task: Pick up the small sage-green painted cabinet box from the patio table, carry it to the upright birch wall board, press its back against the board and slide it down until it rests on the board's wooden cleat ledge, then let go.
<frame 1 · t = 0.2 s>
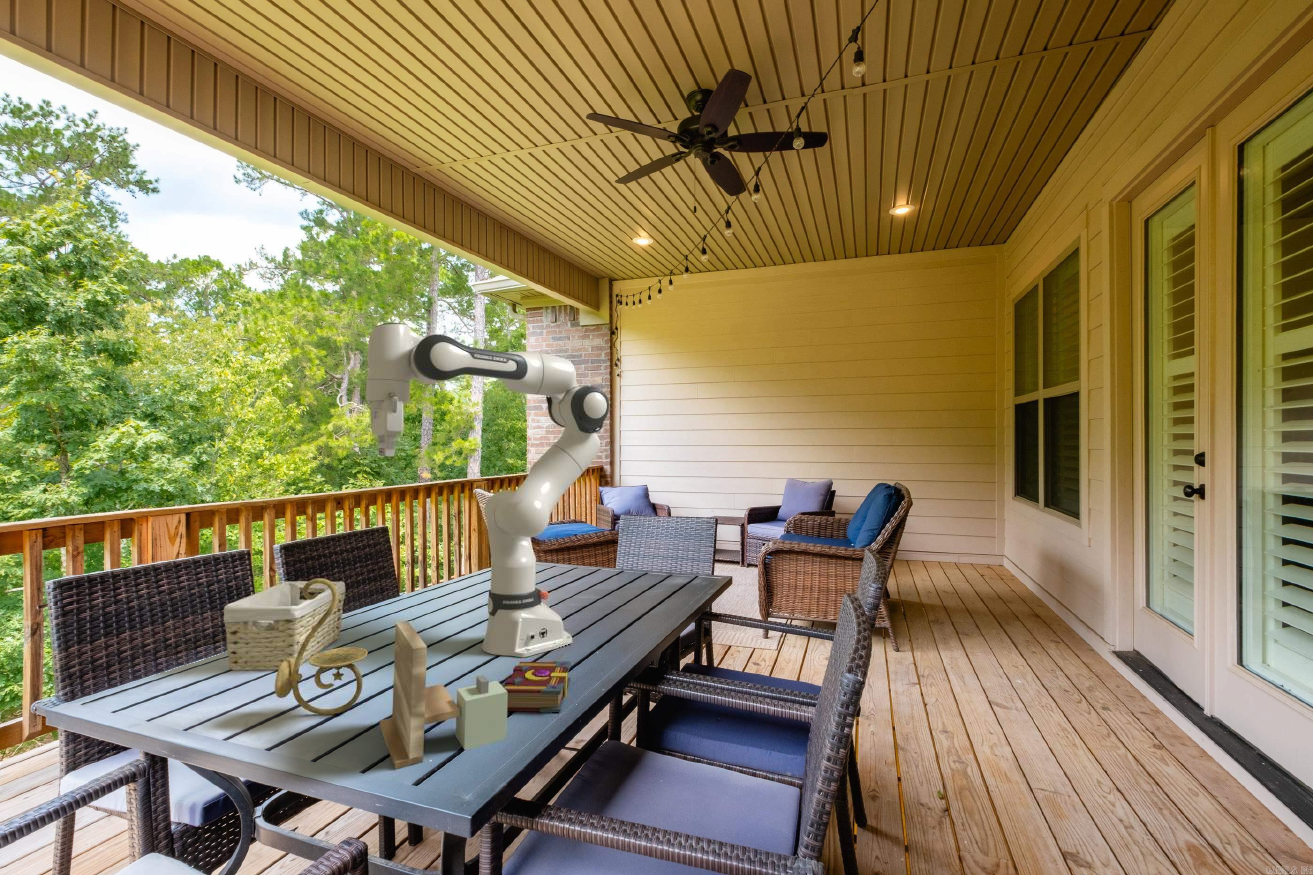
hand: (385, 456, 125), 48 cm above the table, fingers open, 8 cm apart
wall sconce: (323, 715, 103), on the table
wall board: (406, 741, 94), on the table
storage basket: (287, 655, 133), on the table
decorative book: (538, 696, 114), on the table
sage cabinet: (480, 737, 96), on the table
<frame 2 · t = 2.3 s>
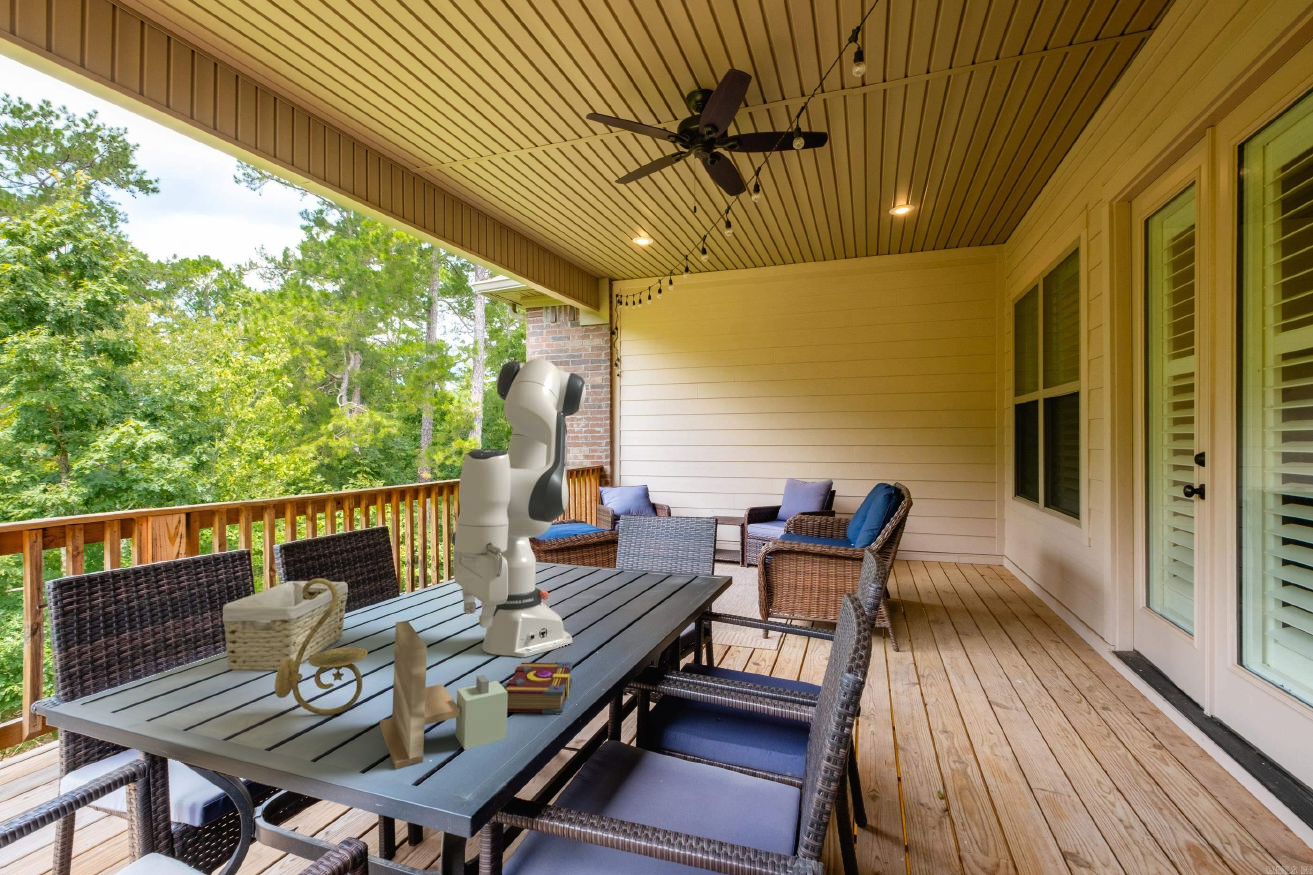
hand: (477, 619, 98), 20 cm above the table, fingers open, 8 cm apart
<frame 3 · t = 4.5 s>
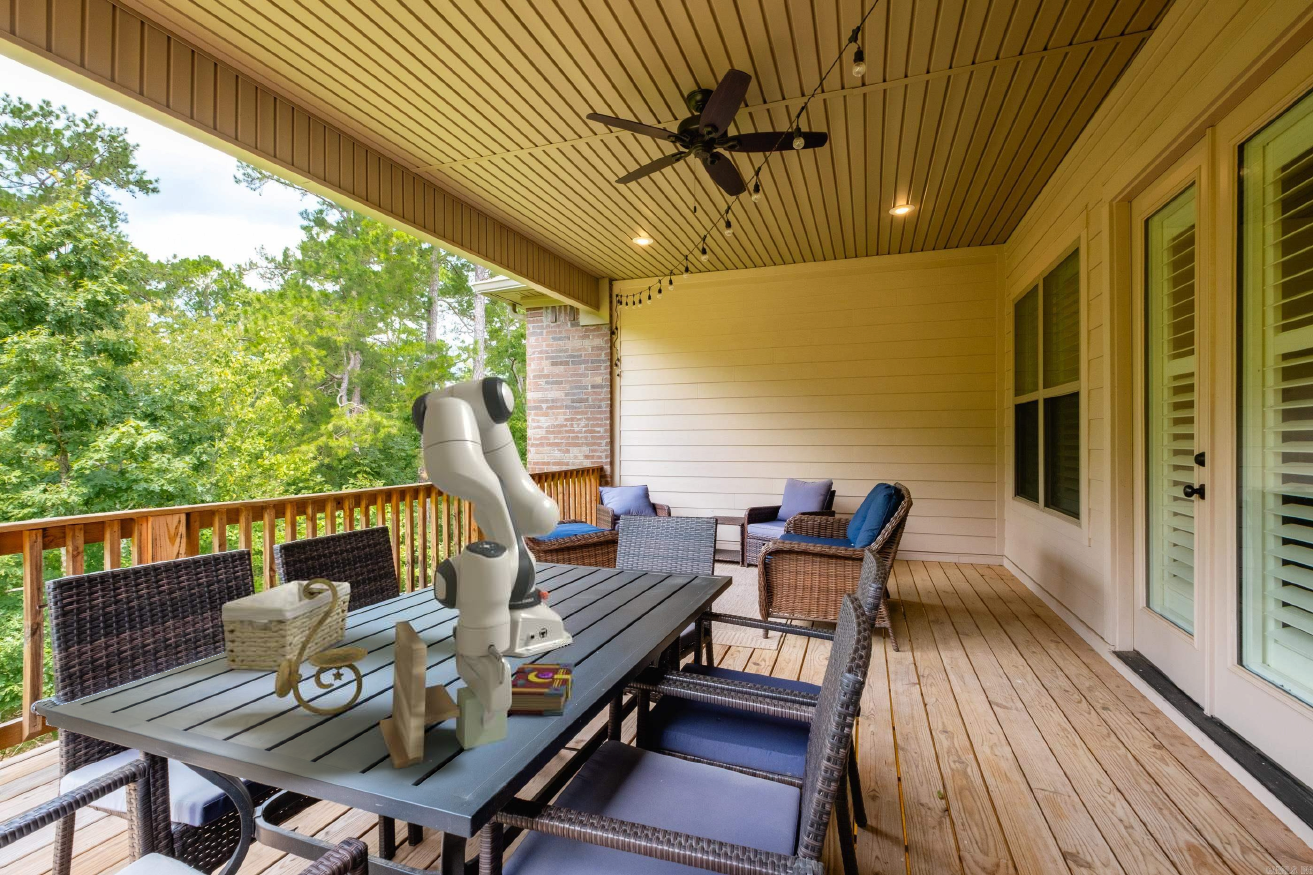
hand: (481, 718, 96), 3 cm above the table, fingers closed on sage cabinet, 5 cm apart
sage cabinet: (480, 736, 96), on the table, touching gripper
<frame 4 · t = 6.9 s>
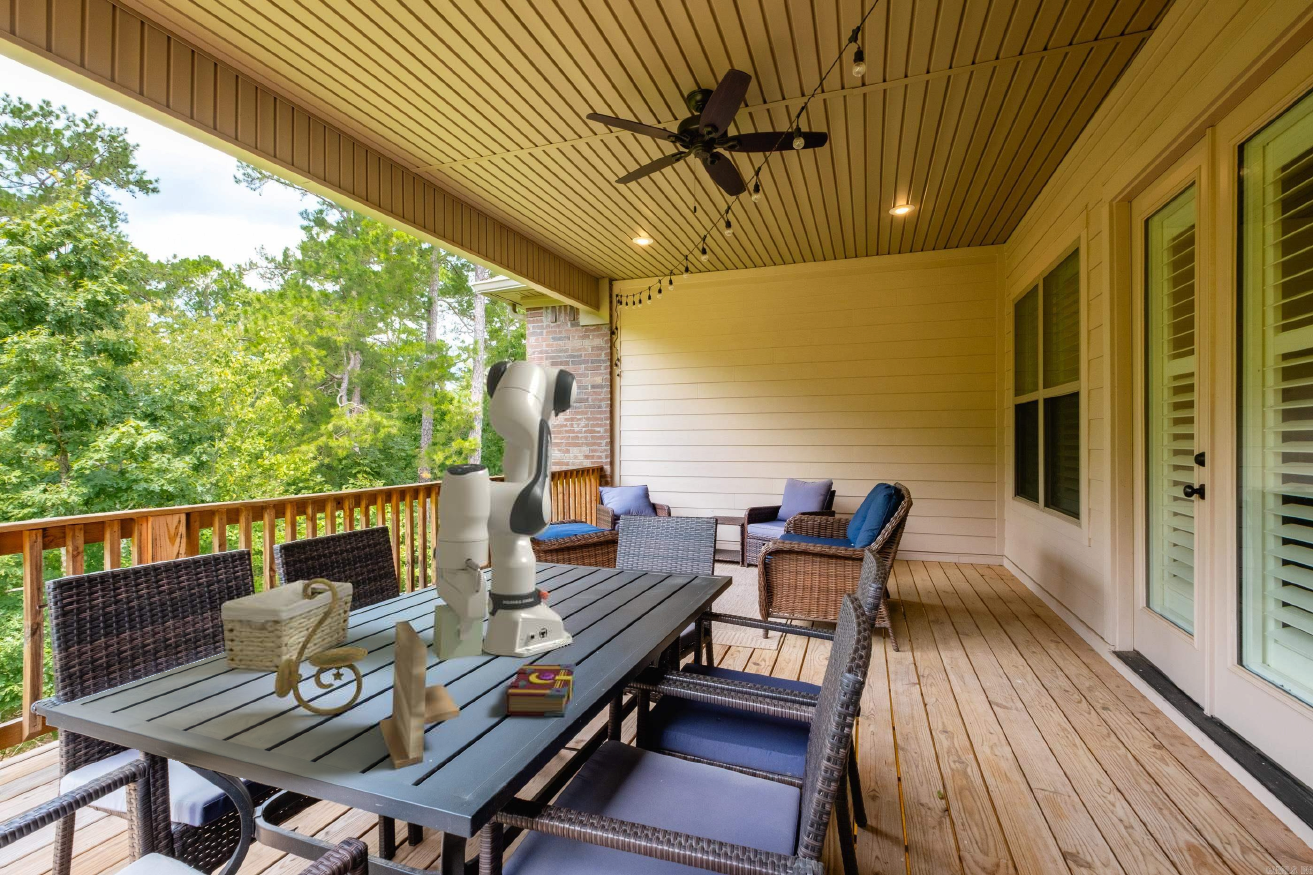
hand: (458, 633, 99), 17 cm above the table, fingers closed on sage cabinet, 5 cm apart
sage cabinet: (456, 652, 99), point 13 cm above the table, touching gripper
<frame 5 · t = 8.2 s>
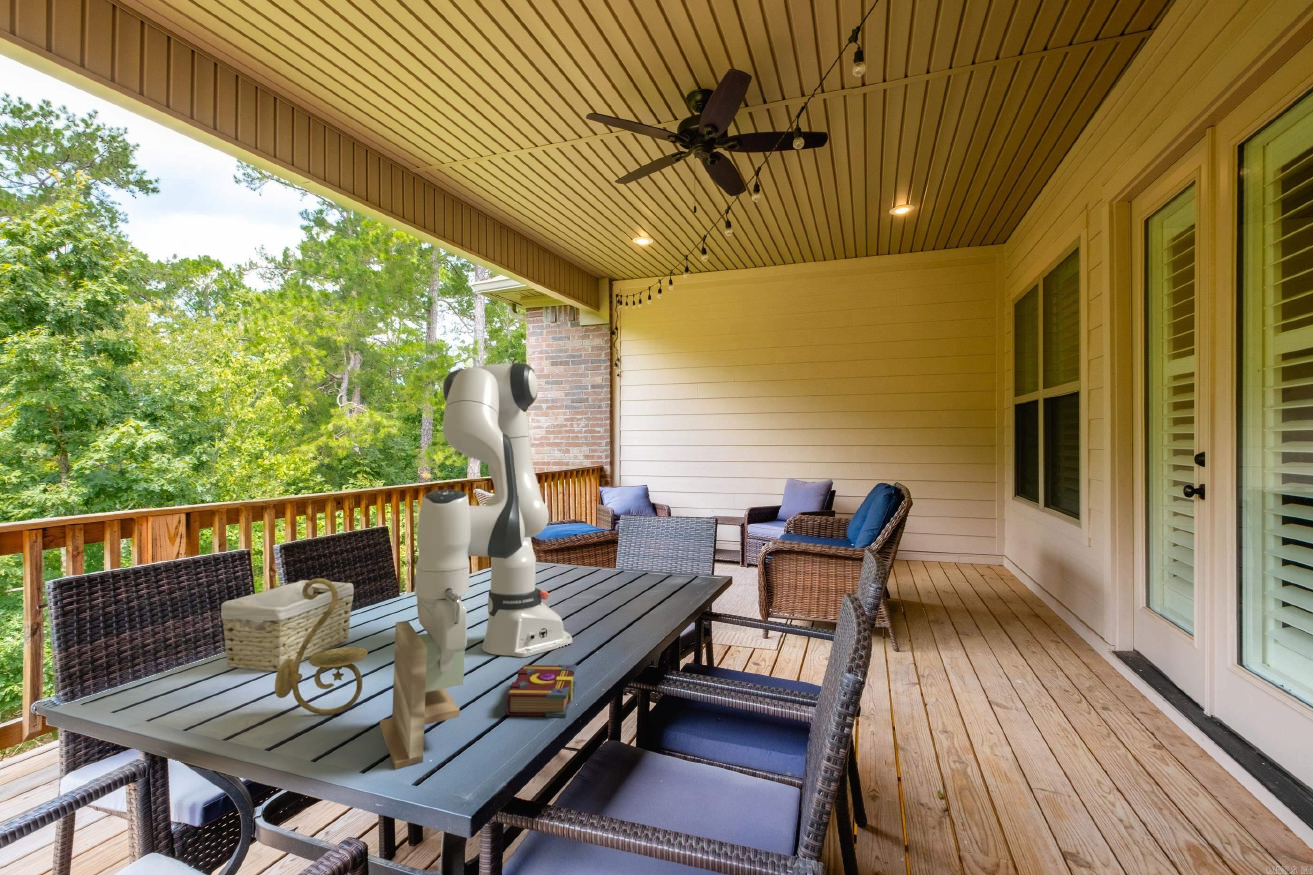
hand: (439, 663, 97), 12 cm above the table, fingers closed on sage cabinet, 5 cm apart
sage cabinet: (438, 682, 97), point 9 cm above the table, touching gripper
when the fingers open (10 cm above the table, at t = 9.1 s): sage cabinet stays where it is, resting on wall board.
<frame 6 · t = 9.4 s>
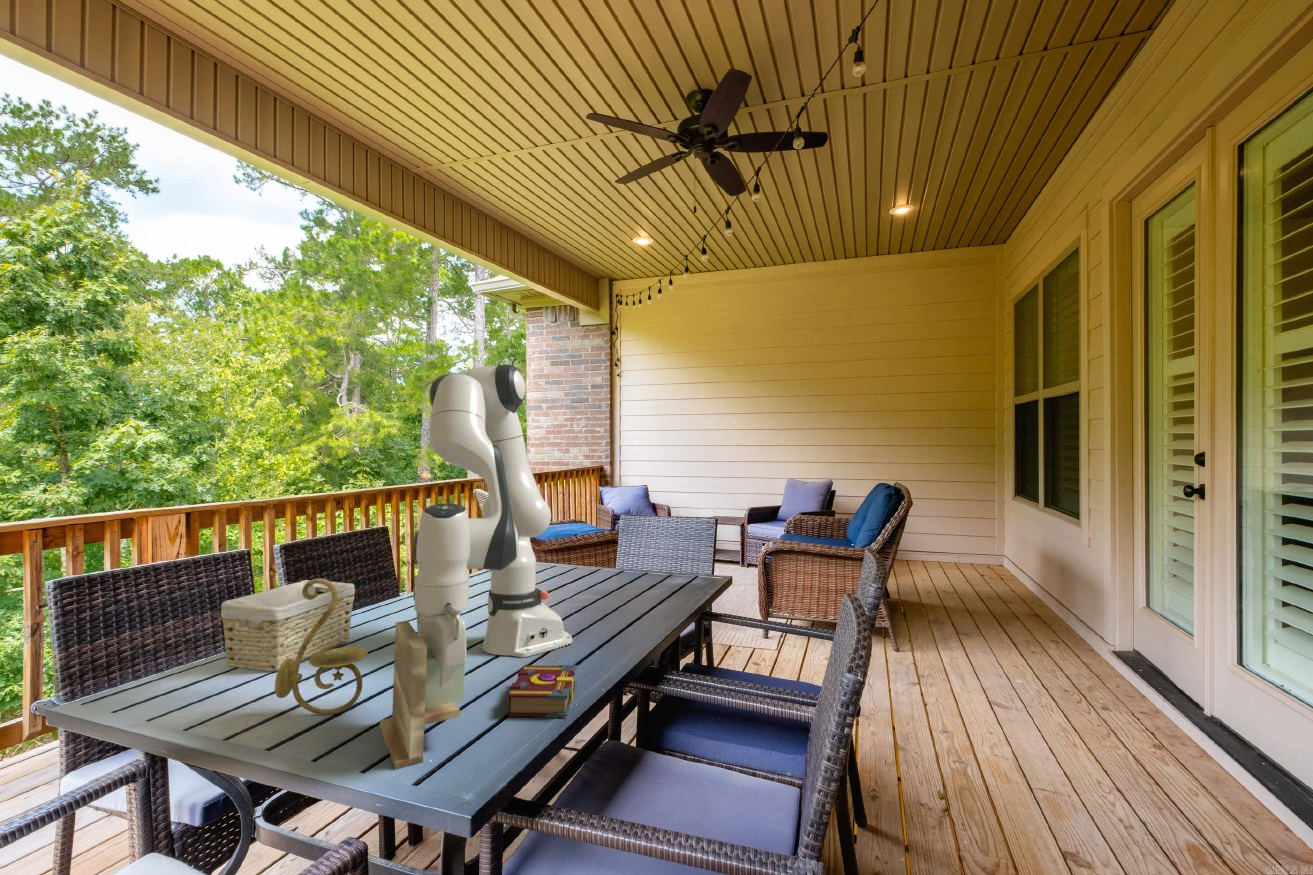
hand: (439, 677, 97), 10 cm above the table, fingers open, 8 cm apart
sage cabinet: (438, 698, 97), point 6 cm above the table, touching wall board
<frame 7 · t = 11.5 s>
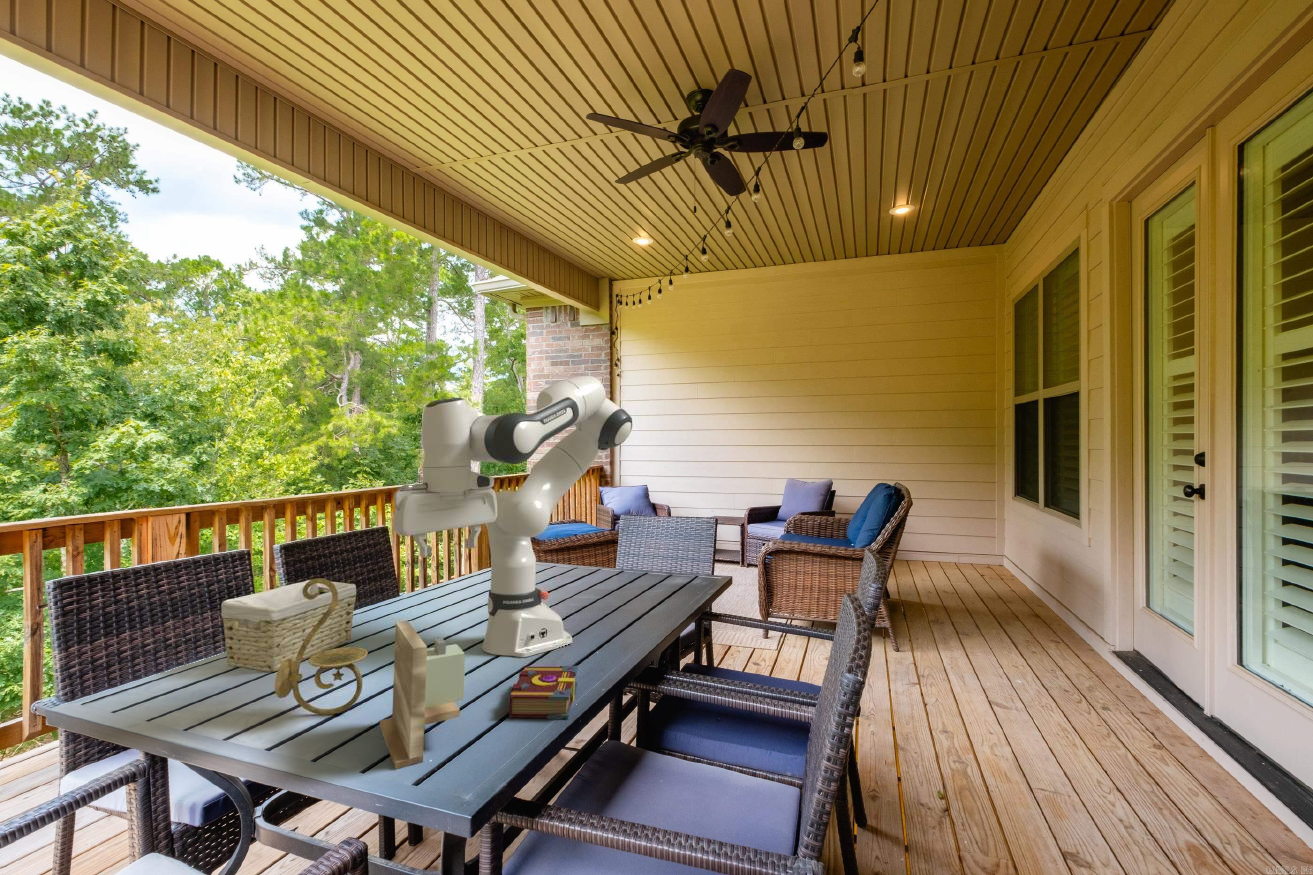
hand: (449, 552, 109), 29 cm above the table, fingers open, 8 cm apart
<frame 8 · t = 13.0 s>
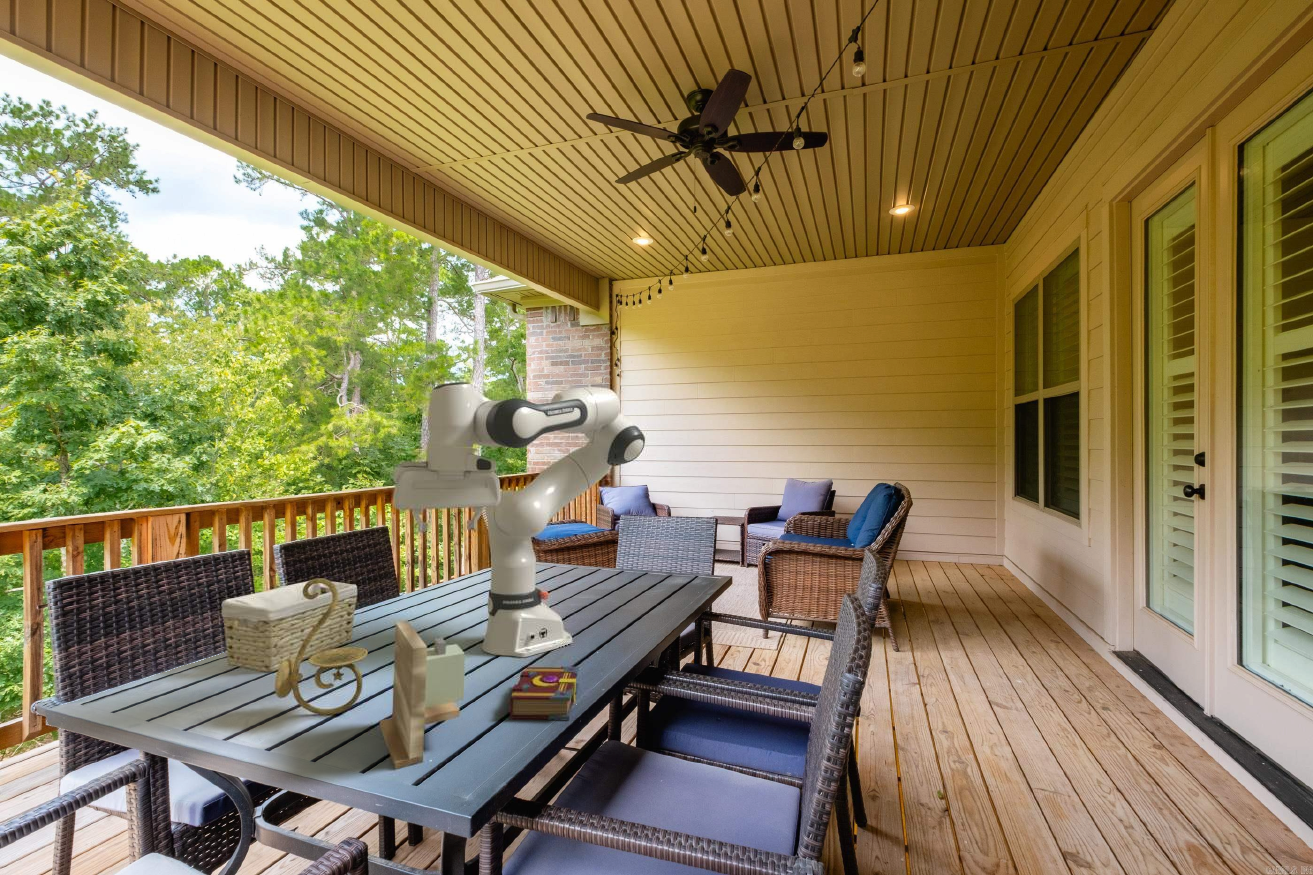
hand: (447, 530, 112), 33 cm above the table, fingers open, 8 cm apart
at the end: sage cabinet inside the target area on the wall board (0.5 cm from its centre), point 6.0 cm above the wall board's base; sage cabinet tilted 0°; sage cabinet touching wall board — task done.
